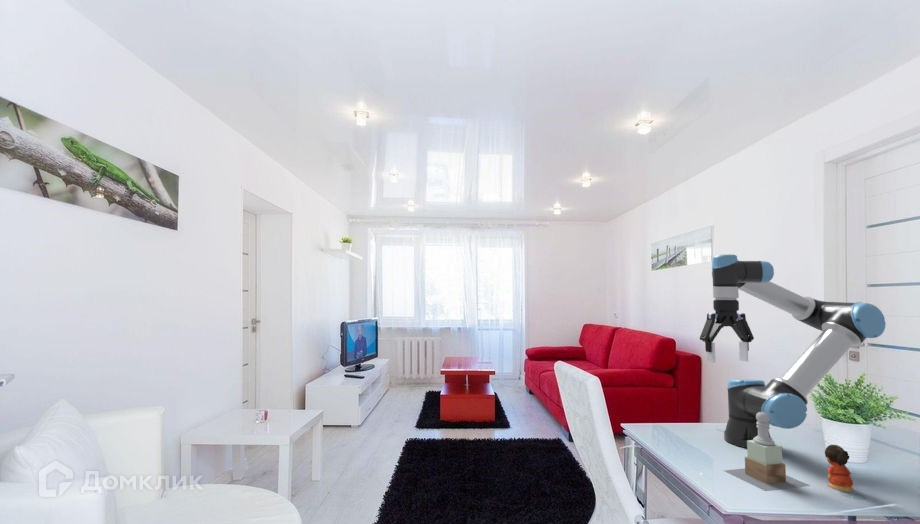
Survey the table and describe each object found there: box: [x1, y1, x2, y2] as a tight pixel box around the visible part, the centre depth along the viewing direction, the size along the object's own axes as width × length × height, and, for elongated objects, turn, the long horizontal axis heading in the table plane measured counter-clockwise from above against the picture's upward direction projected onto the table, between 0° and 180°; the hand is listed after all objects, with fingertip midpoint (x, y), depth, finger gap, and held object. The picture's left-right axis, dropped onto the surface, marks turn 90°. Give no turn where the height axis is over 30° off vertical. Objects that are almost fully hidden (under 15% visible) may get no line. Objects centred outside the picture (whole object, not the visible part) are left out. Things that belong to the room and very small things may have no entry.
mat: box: [723, 467, 811, 492], centre depth 128 cm, size 16×14×1 cm
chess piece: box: [753, 412, 776, 446], centre depth 129 cm, size 5×5×9 cm
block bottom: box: [744, 456, 787, 484], centre depth 129 cm, size 7×7×5 cm
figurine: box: [824, 444, 855, 493], centre depth 123 cm, size 6×6×12 cm
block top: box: [746, 440, 783, 465], centre depth 129 cm, size 6×6×5 cm
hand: (727, 361), depth 148 cm, fingers open, 13 cm apart
